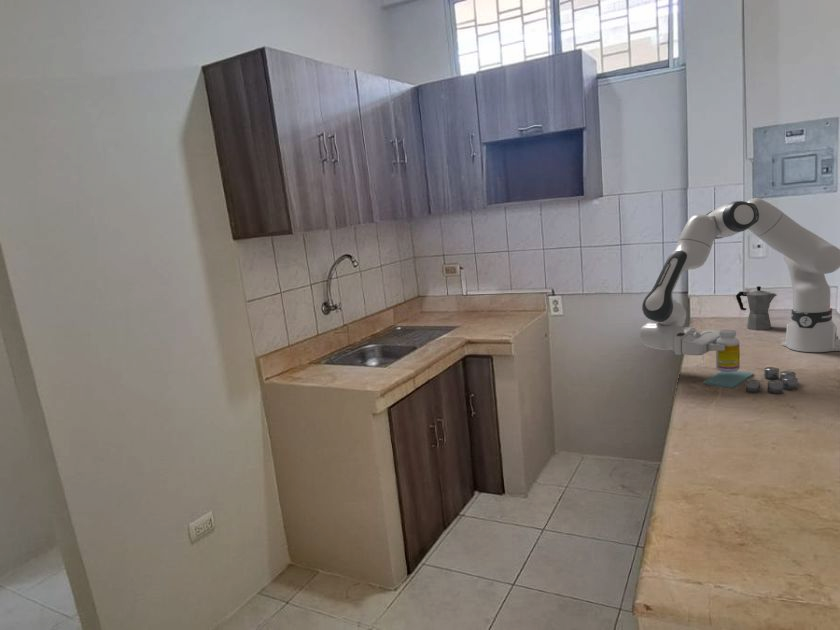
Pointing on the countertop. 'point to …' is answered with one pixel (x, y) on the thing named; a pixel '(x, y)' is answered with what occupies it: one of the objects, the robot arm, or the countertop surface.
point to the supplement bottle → (728, 352)
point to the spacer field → (774, 382)
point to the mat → (728, 379)
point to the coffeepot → (757, 308)
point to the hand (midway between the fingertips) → (730, 344)
